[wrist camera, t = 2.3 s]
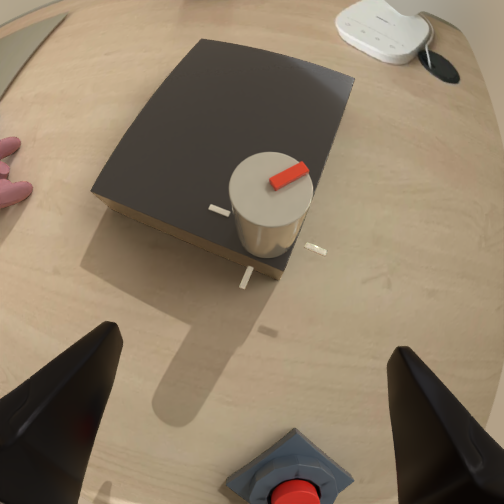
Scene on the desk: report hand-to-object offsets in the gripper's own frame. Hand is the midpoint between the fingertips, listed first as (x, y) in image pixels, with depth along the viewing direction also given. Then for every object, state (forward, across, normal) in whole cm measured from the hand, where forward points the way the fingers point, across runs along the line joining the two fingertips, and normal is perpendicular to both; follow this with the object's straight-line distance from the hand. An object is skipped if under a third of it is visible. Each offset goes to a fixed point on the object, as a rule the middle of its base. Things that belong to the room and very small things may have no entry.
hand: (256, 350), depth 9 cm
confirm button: (-2, -4, +15) cm, 16 cm away
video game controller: (+17, +29, +1) cm, 33 cm away
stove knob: (+10, 0, +1) cm, 11 cm away
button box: (0, -4, +17) cm, 18 cm away
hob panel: (+18, +2, -1) cm, 19 cm away
